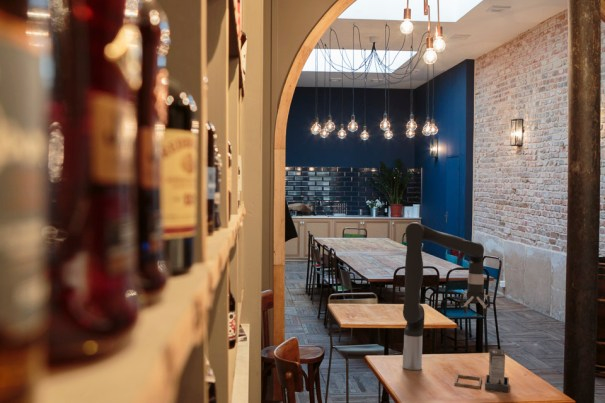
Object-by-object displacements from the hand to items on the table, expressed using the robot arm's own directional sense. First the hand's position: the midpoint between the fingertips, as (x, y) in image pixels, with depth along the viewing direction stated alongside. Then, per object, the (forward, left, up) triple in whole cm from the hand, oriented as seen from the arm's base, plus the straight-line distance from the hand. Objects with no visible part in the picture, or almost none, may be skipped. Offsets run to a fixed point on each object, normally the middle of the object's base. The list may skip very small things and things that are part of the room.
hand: (474, 314), depth 278 cm
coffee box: (+11, -14, -30) cm, 35 cm away
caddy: (+12, -14, -30) cm, 35 cm away
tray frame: (-1, -14, -30) cm, 33 cm away
